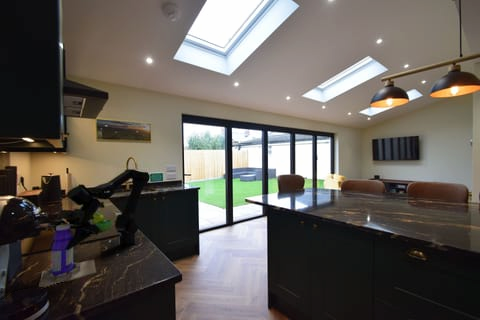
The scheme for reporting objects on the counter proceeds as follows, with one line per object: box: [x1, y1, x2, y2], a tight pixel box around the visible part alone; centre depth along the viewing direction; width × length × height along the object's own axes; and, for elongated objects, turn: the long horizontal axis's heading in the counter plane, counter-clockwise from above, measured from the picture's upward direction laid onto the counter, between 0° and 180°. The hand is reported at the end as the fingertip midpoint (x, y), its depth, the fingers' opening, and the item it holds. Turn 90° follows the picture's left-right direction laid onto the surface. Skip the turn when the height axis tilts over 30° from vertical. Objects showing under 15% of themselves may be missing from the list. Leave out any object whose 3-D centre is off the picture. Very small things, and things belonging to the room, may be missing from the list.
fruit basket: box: [90, 212, 113, 232], centre depth 132 cm, size 11×9×11 cm
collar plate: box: [38, 259, 97, 288], centre depth 80 cm, size 16×13×3 cm
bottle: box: [51, 223, 74, 276], centre depth 78 cm, size 7×6×17 cm
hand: (59, 248), depth 76 cm, fingers closed on bottle, 6 cm apart
